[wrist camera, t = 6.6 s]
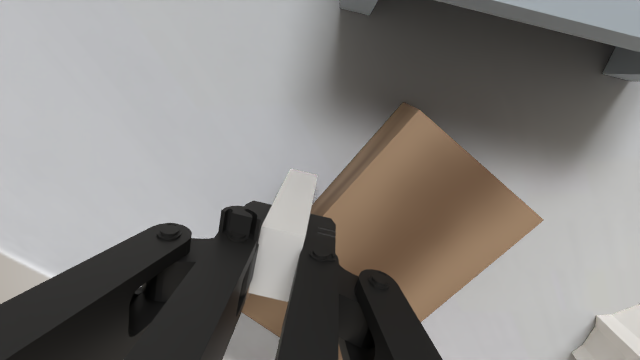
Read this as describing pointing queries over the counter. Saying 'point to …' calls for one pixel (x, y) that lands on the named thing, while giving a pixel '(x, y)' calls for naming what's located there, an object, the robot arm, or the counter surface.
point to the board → (414, 216)
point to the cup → (613, 337)
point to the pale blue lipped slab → (565, 23)
